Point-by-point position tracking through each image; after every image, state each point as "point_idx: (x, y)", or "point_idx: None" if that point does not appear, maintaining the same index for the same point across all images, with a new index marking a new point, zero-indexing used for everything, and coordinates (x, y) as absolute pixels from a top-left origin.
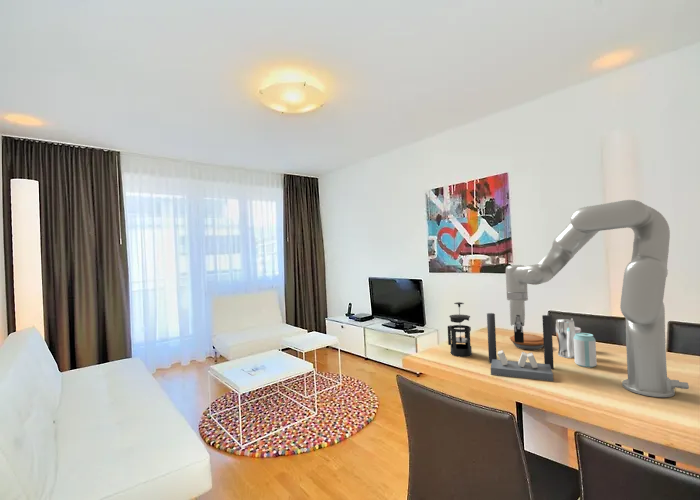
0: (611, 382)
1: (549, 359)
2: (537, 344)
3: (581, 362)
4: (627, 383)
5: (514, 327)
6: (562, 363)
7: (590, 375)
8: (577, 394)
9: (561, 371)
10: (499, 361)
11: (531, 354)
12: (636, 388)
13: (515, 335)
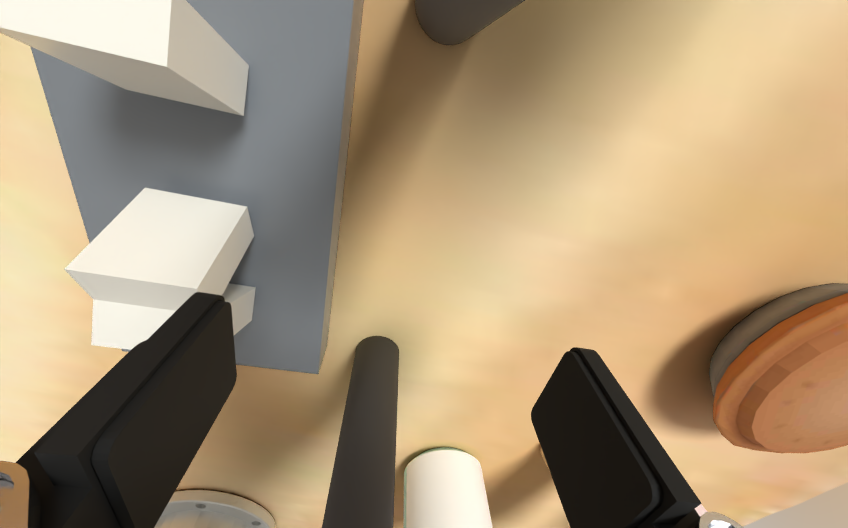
0: (247, 476)
1: (347, 395)
2: (714, 401)
3: (413, 472)
4: (206, 509)
5: (647, 485)
6: (460, 410)
7: (309, 450)
8: (11, 365)
9: (334, 383)
10: (283, 35)
11: (133, 341)
12: (162, 514)
13: (124, 386)
